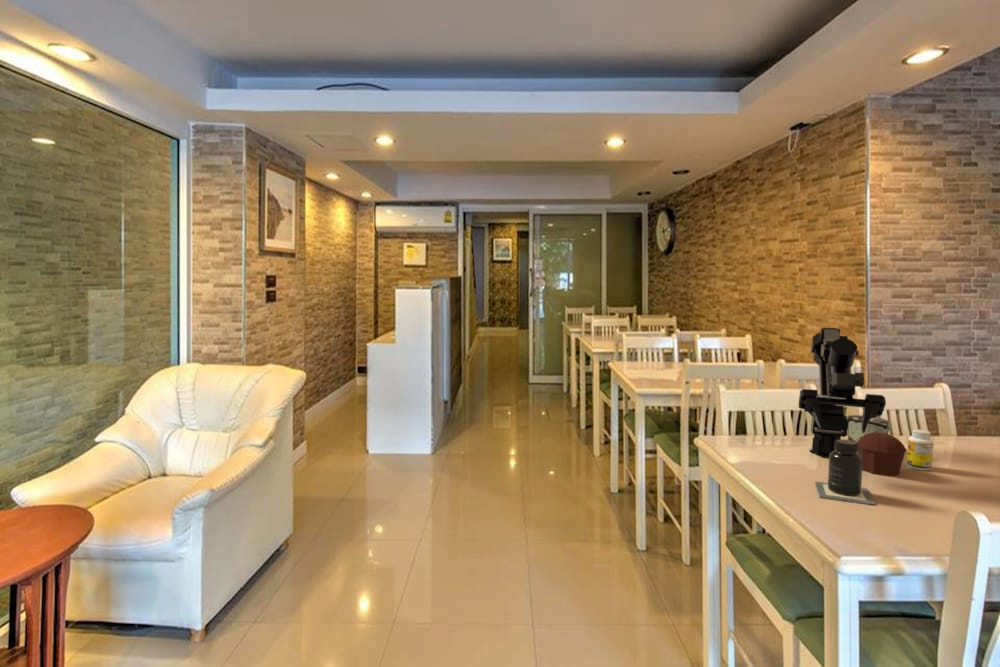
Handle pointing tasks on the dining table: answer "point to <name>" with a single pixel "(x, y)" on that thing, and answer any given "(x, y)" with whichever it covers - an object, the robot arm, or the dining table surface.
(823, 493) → the foundation tile
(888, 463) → the muffin
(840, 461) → the supplement bottle
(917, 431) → the supplement bottle
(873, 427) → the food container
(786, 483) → the dining table surface
